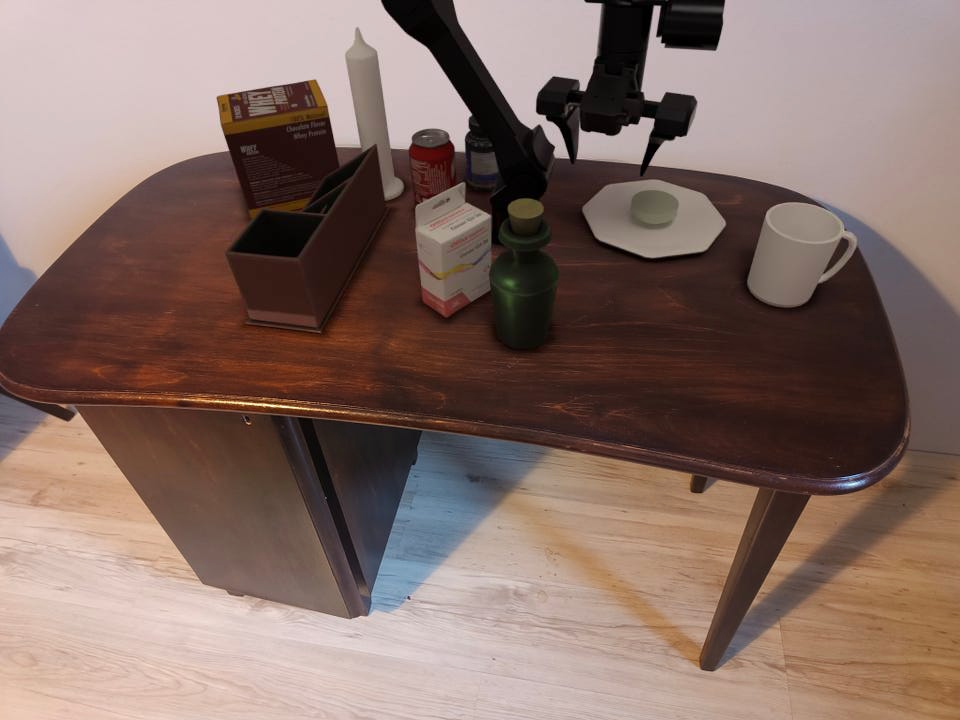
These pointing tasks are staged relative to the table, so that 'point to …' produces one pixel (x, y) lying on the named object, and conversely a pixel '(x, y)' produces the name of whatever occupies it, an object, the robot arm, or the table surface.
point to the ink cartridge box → (452, 251)
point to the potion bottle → (523, 277)
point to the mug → (796, 253)
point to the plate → (653, 241)
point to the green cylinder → (654, 206)
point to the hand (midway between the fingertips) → (607, 169)
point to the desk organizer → (309, 248)
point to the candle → (371, 109)
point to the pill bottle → (480, 159)
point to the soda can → (432, 165)
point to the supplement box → (279, 143)
